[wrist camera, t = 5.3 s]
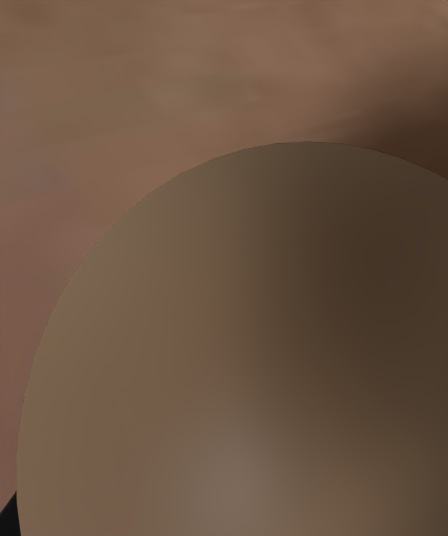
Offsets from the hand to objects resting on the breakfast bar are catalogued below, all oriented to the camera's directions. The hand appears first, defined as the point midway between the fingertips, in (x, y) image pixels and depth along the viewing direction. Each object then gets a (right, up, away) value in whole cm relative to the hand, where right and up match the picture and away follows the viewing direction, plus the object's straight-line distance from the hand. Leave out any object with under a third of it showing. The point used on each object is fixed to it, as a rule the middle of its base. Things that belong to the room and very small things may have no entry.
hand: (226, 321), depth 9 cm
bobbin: (0, -3, +6) cm, 7 cm away
